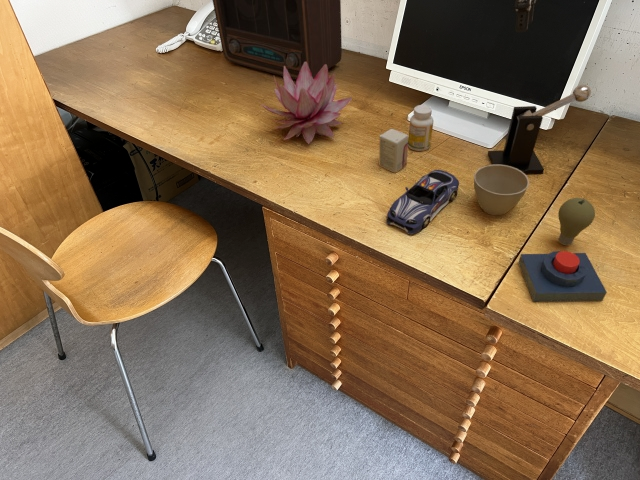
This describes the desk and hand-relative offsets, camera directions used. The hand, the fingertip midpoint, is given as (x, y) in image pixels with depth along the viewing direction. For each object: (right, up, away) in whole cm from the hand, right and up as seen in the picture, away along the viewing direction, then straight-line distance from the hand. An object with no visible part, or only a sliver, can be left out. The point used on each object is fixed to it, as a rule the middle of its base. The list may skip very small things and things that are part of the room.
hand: (523, 27), depth 97 cm
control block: (-1, -50, -16) cm, 52 cm away
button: (-1, -47, -18) cm, 51 cm away
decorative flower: (-44, -15, +26) cm, 53 cm away
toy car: (-20, -36, +1) cm, 42 cm away
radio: (-54, +13, +56) cm, 79 cm away
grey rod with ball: (+7, -17, +1) cm, 18 cm away
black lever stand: (+2, -26, +10) cm, 28 cm away
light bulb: (+4, -44, -9) cm, 45 cm away
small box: (-25, -26, +12) cm, 38 cm away
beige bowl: (-6, -37, -1) cm, 37 cm away
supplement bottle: (-18, -21, +18) cm, 32 cm away
